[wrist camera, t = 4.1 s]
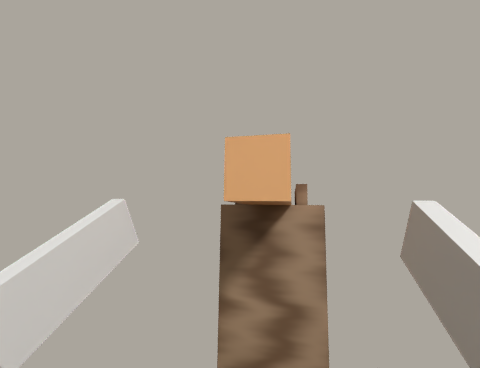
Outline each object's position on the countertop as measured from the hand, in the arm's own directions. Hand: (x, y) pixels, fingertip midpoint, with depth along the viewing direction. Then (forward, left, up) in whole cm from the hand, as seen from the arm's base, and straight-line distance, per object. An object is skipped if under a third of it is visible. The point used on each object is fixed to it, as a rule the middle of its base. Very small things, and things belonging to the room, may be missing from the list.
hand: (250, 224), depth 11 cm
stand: (0, +17, -29) cm, 33 cm away
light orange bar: (0, +14, +1) cm, 14 cm away
